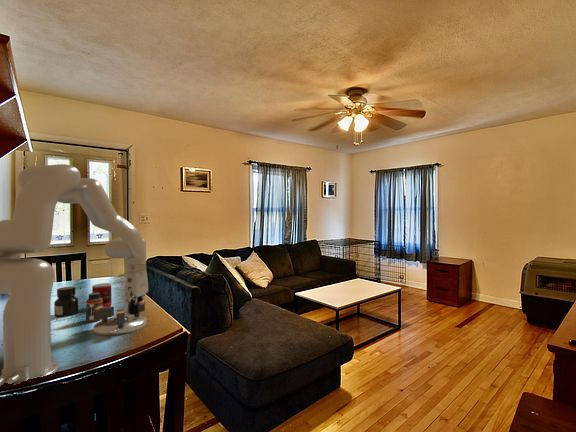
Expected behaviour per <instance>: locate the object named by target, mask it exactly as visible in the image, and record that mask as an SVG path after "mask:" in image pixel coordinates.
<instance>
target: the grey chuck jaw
mask: <svg viewBox="0 0 576 432" xmlns="http://www.w3.org/2000/svg"><path fill="white" fill-rule="evenodd" d="M124 315H125V309H124V308H122V309H117V310H116V317H117V324H118V327H123V326H124Z"/></svg>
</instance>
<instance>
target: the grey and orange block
mask: <svg viewBox="0 0 576 432" xmlns="http://www.w3.org/2000/svg"><path fill="white" fill-rule="evenodd" d="M137 304H138V314H137V315H134V317H139V316H140V315H141V314H140V313H141V312H145V311H146V301H145V300H144V301H140V302H137ZM127 313H128V314H130V309H129V303H128V305H127Z"/></svg>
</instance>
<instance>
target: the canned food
mask: <svg viewBox="0 0 576 432" xmlns="http://www.w3.org/2000/svg"><path fill="white" fill-rule="evenodd" d="M91 287H92V288H91V290H92V291H91V293H100V297H101V298H102V300H103V307H112V300H113V299H112V296H113V295H112V283H111V282H103V283H96V284H93V285H91Z"/></svg>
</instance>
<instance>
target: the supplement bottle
mask: <svg viewBox="0 0 576 432" xmlns="http://www.w3.org/2000/svg"><path fill="white" fill-rule="evenodd" d="M99 306H103V300H102V298H101V297H100V293H92V292H90V293H89V294H88V298H87V299H86V301H85V321H86V322H88V323H95V322H100V321H102V318H95V308H97V307H99Z"/></svg>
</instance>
